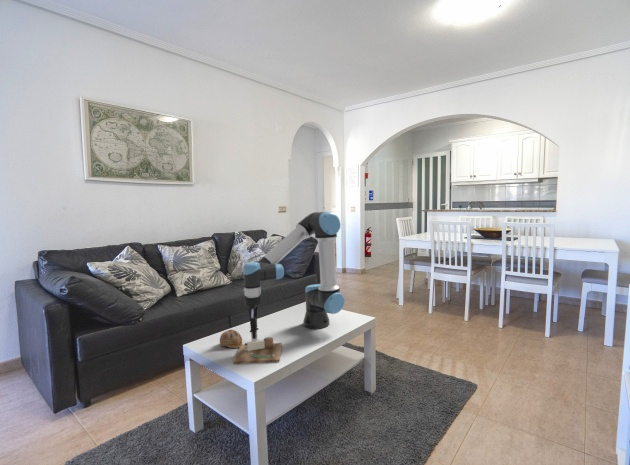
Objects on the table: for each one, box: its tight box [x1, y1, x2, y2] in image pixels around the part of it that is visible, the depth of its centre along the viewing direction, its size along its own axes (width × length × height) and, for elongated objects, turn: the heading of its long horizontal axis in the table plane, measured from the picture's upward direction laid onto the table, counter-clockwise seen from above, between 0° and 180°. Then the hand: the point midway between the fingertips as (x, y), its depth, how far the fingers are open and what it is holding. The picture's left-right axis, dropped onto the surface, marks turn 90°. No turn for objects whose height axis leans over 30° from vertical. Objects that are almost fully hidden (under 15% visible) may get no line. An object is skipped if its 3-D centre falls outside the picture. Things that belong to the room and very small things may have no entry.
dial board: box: [232, 342, 283, 365], centre depth 153 cm, size 20×18×1 cm
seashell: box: [219, 329, 244, 349], centre depth 165 cm, size 10×9×10 cm
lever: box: [244, 336, 274, 351], centre depth 155 cm, size 13×4×4 cm, turn 110°
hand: (254, 344), depth 156 cm, fingers closed
